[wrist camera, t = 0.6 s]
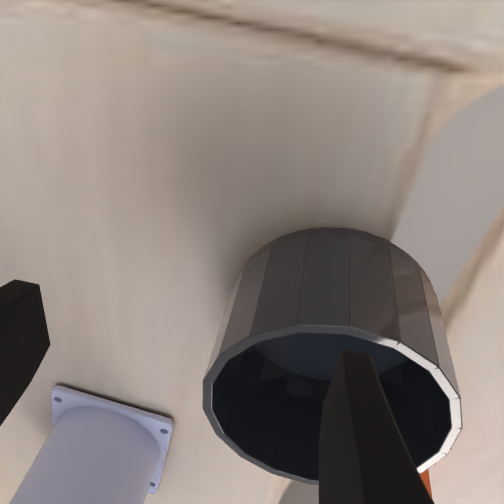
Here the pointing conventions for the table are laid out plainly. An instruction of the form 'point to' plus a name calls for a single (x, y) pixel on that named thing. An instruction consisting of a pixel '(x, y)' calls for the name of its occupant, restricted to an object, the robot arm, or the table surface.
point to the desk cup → (328, 349)
